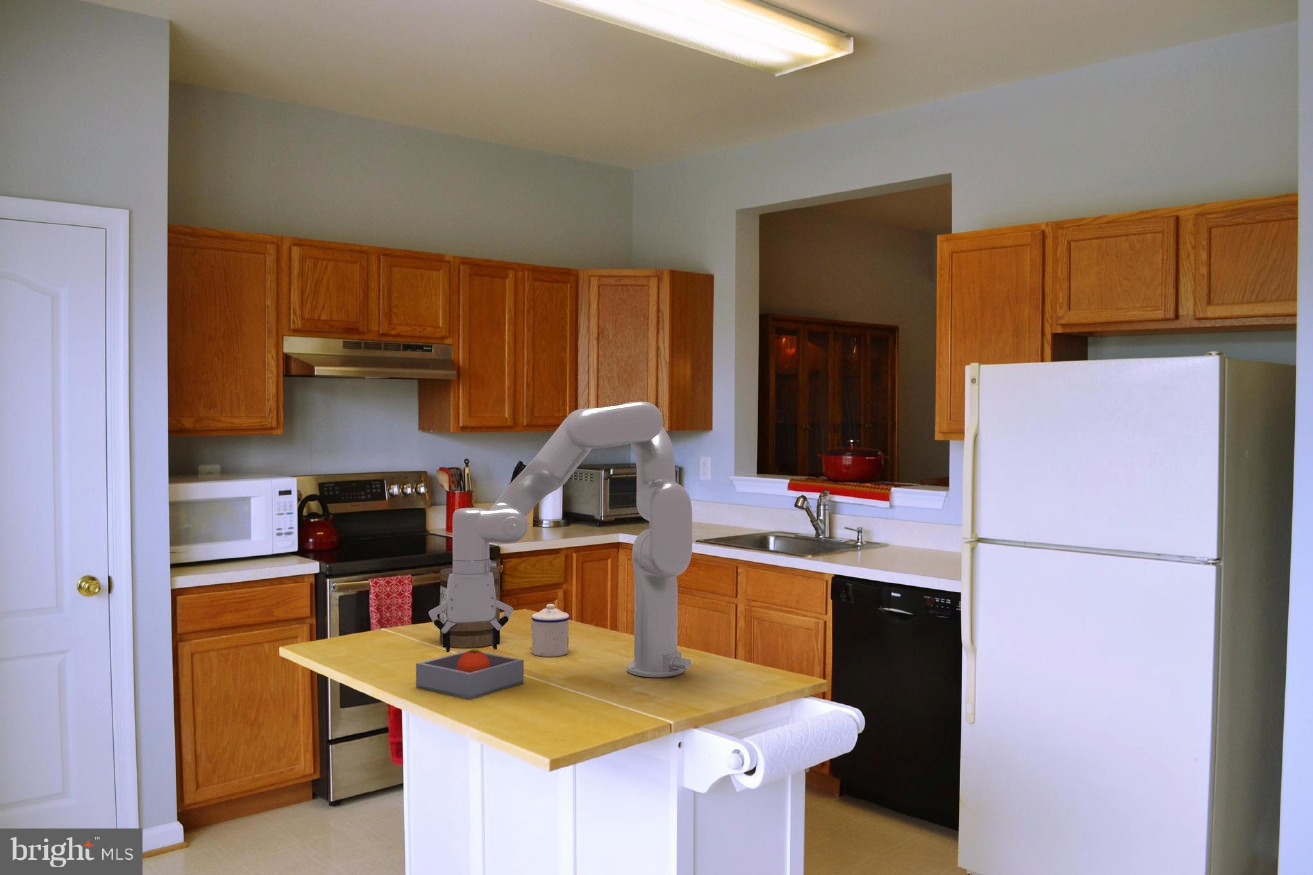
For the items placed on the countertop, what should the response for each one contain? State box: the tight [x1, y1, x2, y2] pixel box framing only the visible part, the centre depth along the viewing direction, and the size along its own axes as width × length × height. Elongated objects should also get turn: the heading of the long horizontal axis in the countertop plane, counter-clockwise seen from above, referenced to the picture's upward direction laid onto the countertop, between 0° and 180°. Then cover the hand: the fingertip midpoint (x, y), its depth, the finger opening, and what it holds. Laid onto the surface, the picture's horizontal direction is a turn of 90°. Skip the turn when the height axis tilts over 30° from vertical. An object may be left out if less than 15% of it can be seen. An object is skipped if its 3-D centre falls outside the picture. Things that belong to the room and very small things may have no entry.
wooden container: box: [439, 567, 501, 649], centre depth 250 cm, size 15×15×22 cm
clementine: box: [457, 649, 490, 673], centre depth 207 cm, size 8×7×7 cm
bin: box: [415, 649, 525, 700], centre depth 208 cm, size 16×16×5 cm
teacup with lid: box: [530, 603, 570, 658], centre depth 239 cm, size 12×9×12 cm
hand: (471, 649), depth 208 cm, fingers open, 9 cm apart
